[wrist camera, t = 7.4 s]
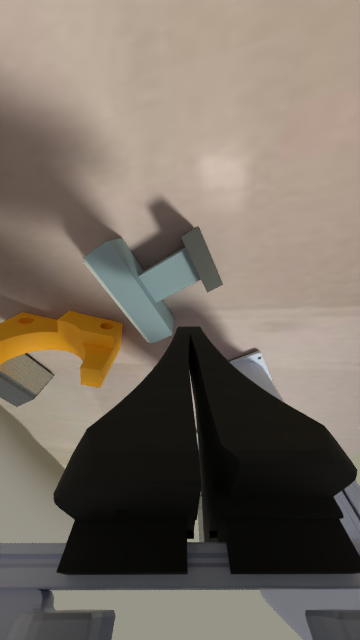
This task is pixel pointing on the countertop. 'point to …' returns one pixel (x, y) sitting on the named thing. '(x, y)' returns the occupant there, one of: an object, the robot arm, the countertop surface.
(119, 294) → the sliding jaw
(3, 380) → the block
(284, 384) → the countertop surface
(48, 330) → the pipe clamp
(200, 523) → the energy drink
